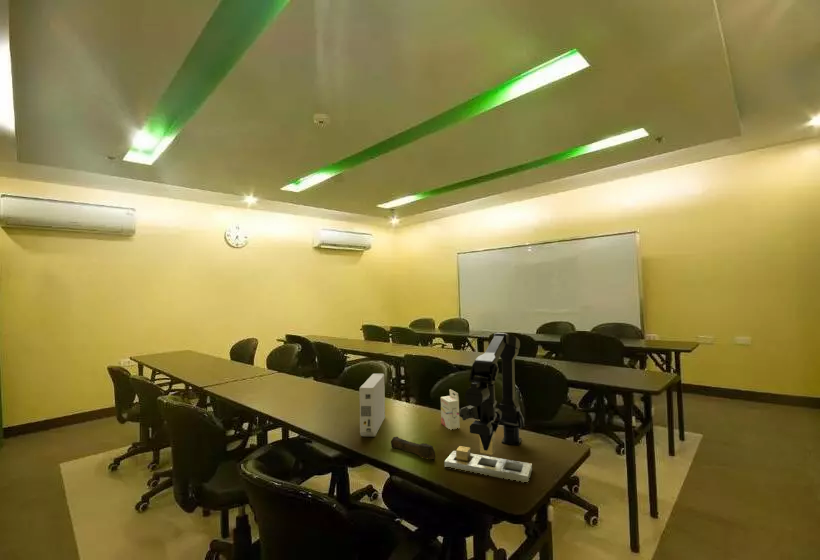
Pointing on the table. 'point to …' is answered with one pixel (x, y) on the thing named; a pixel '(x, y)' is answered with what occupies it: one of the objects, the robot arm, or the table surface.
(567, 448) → the table surface
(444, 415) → the ink cartridge box
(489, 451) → the block
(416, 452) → the dark brown elongated piece
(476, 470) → the white slotted tray
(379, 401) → the game console
